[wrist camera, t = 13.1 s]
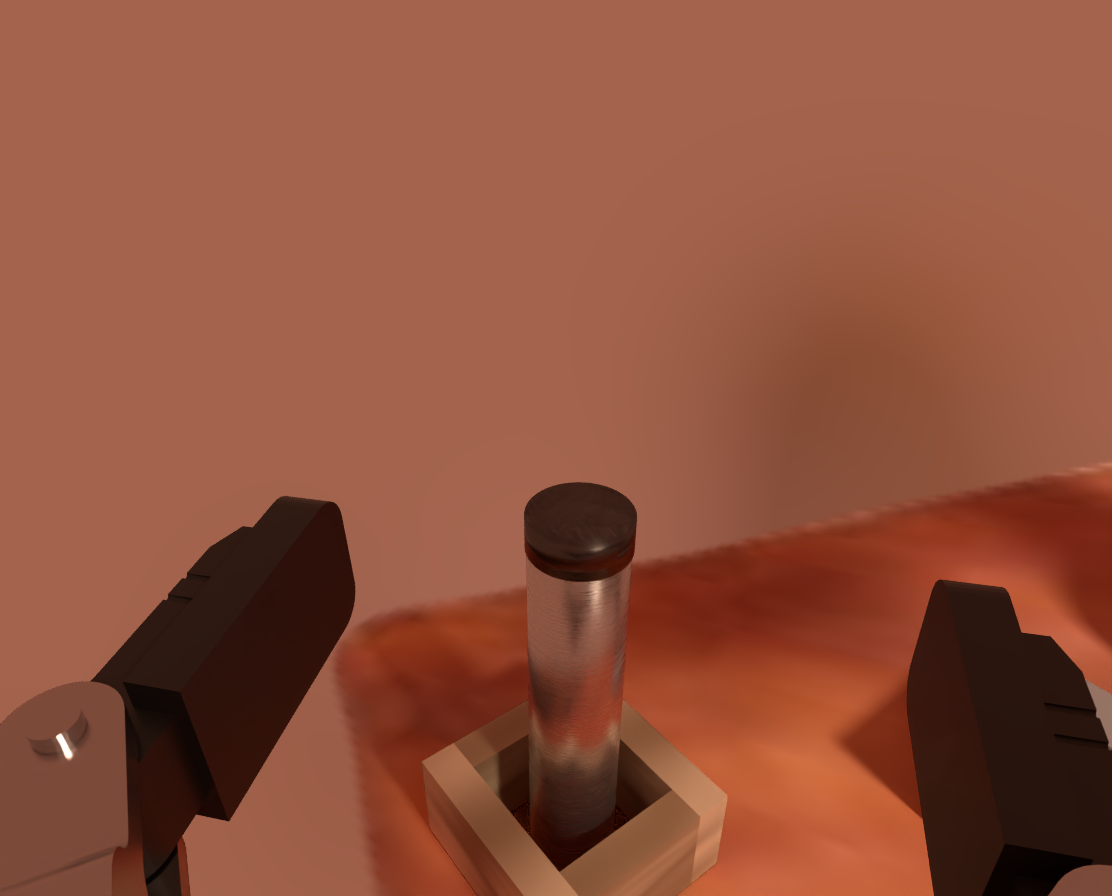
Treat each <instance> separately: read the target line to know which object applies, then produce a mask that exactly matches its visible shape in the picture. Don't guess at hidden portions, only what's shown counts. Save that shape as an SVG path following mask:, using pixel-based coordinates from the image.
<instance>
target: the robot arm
mask: <svg viewBox="0 0 1112 896" xmlns="http://www.w3.org/2000/svg"><path fill="white" fill-rule="evenodd" d="M354 601H355V582H354V576H353V571H352V565H351V560H350V555H349V551H348V545H347V540H346V535H345V530H344V525H343V520H342V515H341V511H340V509H339V507H338V506H337V504H335V503H334V502H330V501H320V500H313V499H305V498H297V497H289V496H283V497H280V498H279V499H277V500H276V501H275V502H274V503H273V504H272V505H271V507H270V508H269V509H268V510H267V511H266V513H265V514H264V515H263V516H262V517H261V519H260V520H259V521H258V522H257V523H256V524H255V526H254V527H253V528H252V527H244V526H243V527H241V528H240V529H238V530H237V531H235V532H233V533H232V534H230V535H228V536H227V537H225V538H224V539H222V540H220V541H219V542H217V543H216V544H214V545H212V546H211V547H210V548H209V549H208V550H207V551H206V552H205V553H204V554H203V555H202V557H201V558H200V559H199V560H198V561H197V562H196V563H195V564H194V566H193V567H192V568H191V569H190V570H189V571H188V572H187V577H186V579H184V578H183V579H181V580H180V581H179V583H178V584H177V585H176V586H175V587H174V588H173V589H172V591H171V592H170V593H169V594H168V599H167V600H163V601H162V602H161V603H160V604H159V605H158V606H157V607H156V609H155V610H154V611H153V612H152V613H151V614H150V615H149V616H148V617H147V619H146V620H145V621H144V622H143V623H142V624H141V625H140V626H139V628H138V629H137V630H136V631H135V632H134V633H133V634H132V635H131V637H130V638H129V639H128V640H127V641H126V642H125V643H124V645H123V646H122V647H121V648H120V649H119V650H118V651H117V652H116V654H115V655H114V656H113V657H112V658H111V659H110V660H109V661H108V663H107V664H106V665H105V666H104V667H103V668H102V669H101V670H100V672H99V673H98V674H97V675H96V676H95V677H94V678H93V679H92V680H91V681H90V682H76V683H70V684H66V685H62V686H58V687H55V688H53V689H50V690H47V691H45V692H43V693H41V694H39V695H37V696H35V697H33V698H32V699H30V700H28V701H27V702H25V703H24V704H22V705H21V706H20V707H18V708H17V709H16V710H14V711H13V712H12V713H11V714H10V715H9V716H8V717H7V718H6V719H5V720H4V721H3V722H2V723H1V724H0V896H190V886H189V875H188V864H187V854H186V847H185V842H184V840H183V838H182V835H183V834H184V832H185V830H186V829H187V827H188V826H189V824H190V823H191V821H192V820H193V818H194V817H195V815H202V816H206V817H211V818H216V819H220V820H225V821H230V819H231V817H232V816H233V814H234V812H235V811H236V809H237V807H238V806H239V804H240V802H241V801H242V799H243V797H244V796H245V794H246V793H247V791H248V789H249V787H250V786H251V784H252V783H253V781H254V779H255V777H256V776H257V774H258V772H259V771H260V769H261V768H262V766H263V764H264V763H265V761H266V759H267V757H268V756H269V754H270V753H271V751H272V749H273V748H274V746H275V744H276V743H277V741H278V739H279V738H280V736H281V734H282V733H283V731H284V729H285V728H286V726H287V725H288V723H289V721H290V720H291V718H292V716H293V715H294V713H295V711H296V709H297V708H298V706H299V705H300V703H301V701H302V700H303V698H304V696H305V695H306V693H307V691H308V689H309V688H310V686H311V685H312V683H313V681H314V679H315V678H316V676H317V675H318V673H319V671H320V670H321V668H322V667H323V665H324V663H325V662H326V660H327V658H328V657H329V655H330V653H331V652H332V650H333V648H334V647H335V645H336V643H337V642H338V640H339V638H340V637H341V635H342V633H343V632H344V630H345V628H346V626H347V624H348V622H349V620H350V617H351V614H352V611H353V607H354ZM1096 711H1097V709H1096V707H1095V704H1094V701H1093V699H1092V696H1091V694H1090V691H1089V688H1088V686H1087V683H1086V681H1085V678H1084V675H1083V673H1082V671H1081V670H1080V669H1079V668H1078V667H1077V666H1076V664H1075V663H1074V662H1073V661H1072V660H1071V659H1070V658H1069V657H1068V656H1067V654H1066V653H1065V652H1064V651H1063V650H1062V649H1061V648H1060V647H1059V645H1058V644H1057V643H1056V642H1055V641H1054V640H1053V639H1052V638H1051V637H1050V636H1043V635H1036V634H1028V633H1021V630H1020V627H1019V623H1018V620H1017V617H1016V614H1015V611H1014V608H1013V605H1012V601H1011V598H1010V596H1009V593H1008V592H1007V590H1006V589H1005V588H1003V587H996V586H988V585H980V584H972V583H964V582H956V581H948V580H938V581H937V582H936V583H935V585H934V587H933V589H932V593H931V596H930V599H929V603H928V606H927V610H926V613H925V617H924V620H923V623H922V627H921V630H920V634H919V637H918V641H917V644H916V648H915V651H914V655H913V658H912V662H911V665H910V670H909V676H908V684H907V715H908V722H909V729H910V736H911V743H912V749H913V756H914V763H915V770H916V776H917V783H918V790H919V797H920V804H921V810H922V817H923V824H924V831H925V838H926V844H927V851H928V858H929V865H930V871H931V878H932V885H933V892H934V896H1112V750H1109V748H1108V744H1109V741H1108V738H1107V736H1106V733H1105V730H1104V728H1103V725H1102V722H1101V720H1100V718H1097V717H1096Z"/></svg>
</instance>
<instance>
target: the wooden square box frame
mask: <svg viewBox="0 0 1112 896" xmlns="http://www.w3.org/2000/svg"><path fill="white" fill-rule="evenodd" d="M421 762H422V770H423V779H424V787H425V795H426V804H427V812H428V821H429V828H430V830H431V831H432V832H433V834H434V835H435V837H436V838H437V839H438V841H439V842H440V844H441V845H442V846H443V848H444V849H445V851H446V852H447V853H448V855H449V856H450V858H451V859H452V860H453V862H454V863H455V865H456V866H457V867H458V869H459V870H460V872H461V873H462V874H463V876H464V877H465V879H466V880H467V881H468V883H469V884H470V886H471V887H472V888H473V890H474V891H475V893H476V894H477V895H478V896H676V895H678V894H679V893H680V892H681V891H682V890H684V889H685V888H686V887H687V886H689V885H690V884H691V883H692V882H693V881H695V880H696V879H697V878H698V877H699V876H701V875H702V874H703V873H704V872H706V871H707V870H708V869H709V868H710V867H712V866H713V865H714V864H715V863H717V857H718V851H719V845H720V839H721V833H722V827H723V821H724V815H725V809H726V804H727V798H728V795H726V794H725V793H724V792H723V791H722V790H721V789H720V788H719V787H718V786H717V785H716V784H715V783H713V782H712V781H711V780H710V779H709V778H708V777H707V776H706V775H705V774H704V773H703V772H702V771H700V770H699V769H698V768H697V767H696V766H695V765H694V764H693V763H692V762H691V761H690V760H689V759H687V758H686V757H685V756H684V755H683V754H682V753H681V752H680V751H679V750H678V749H677V748H676V747H674V746H673V745H672V744H671V743H670V742H669V741H668V740H667V739H666V738H665V737H664V736H663V735H661V734H660V733H659V732H658V731H657V730H656V729H655V728H654V727H653V726H652V725H651V724H650V723H648V722H647V721H646V720H645V719H644V718H643V717H642V716H641V715H640V714H639V713H638V712H637V711H635V710H634V709H633V708H632V707H631V706H630V705H629V704H628V703H627V702H626V701H625V700H624V699H623V701H622V715H621V729H620V744H619V758H618V773H617V787H616V801H615V804H616V805H617V806H618V807H619V808H620V809H621V811H622V812H623V813H624V814H625V815H626V816H627V817H628V818H629V819H630V821H629V822H627V823H626V824H625V825H623V826H622V827H621V828H619V829H618V830H616V831H615V832H614V833H612V834H611V835H610V836H608V837H607V838H605V839H604V840H603V841H601V842H600V843H599V844H597V845H596V846H594V847H593V848H592V849H590V850H589V851H588V852H586V853H585V854H584V855H582V856H581V857H579V858H578V859H577V860H575V861H574V862H573V863H571V864H570V865H568V866H567V867H566V868H564V869H563V870H562V871H560V872H559V871H558V870H557V869H556V868H555V867H554V865H553V864H552V863H551V862H550V860H549V859H548V858H547V857H546V856H545V854H544V853H543V852H542V851H541V849H540V848H539V847H538V846H537V845H536V843H535V842H534V841H533V840H532V838H531V837H530V836H529V835H528V833H527V832H526V831H525V830H524V829H523V827H522V826H521V825H520V824H519V822H518V821H517V820H516V819H515V818H514V816H513V815H512V814H511V813H510V812H512V811H514V810H515V809H517V808H518V807H520V806H521V805H523V804H524V803H526V802H527V801H529V800H530V795H529V717H528V700H526V701H525V702H523V703H521V704H520V705H518V706H516V707H514V708H513V709H511V710H509V711H507V712H506V713H504V714H502V715H501V716H499V717H497V718H495V719H494V720H492V721H490V722H489V723H487V724H485V725H483V726H482V727H480V728H478V729H477V730H475V731H473V732H471V733H470V734H468V735H466V736H464V737H463V738H461V739H459V740H458V741H456V742H454V743H452V744H451V745H449V746H447V747H446V748H444V749H442V750H440V751H439V752H437V753H435V754H434V755H432V756H430V757H428V758H427V759H425V760H423V761H421Z"/></svg>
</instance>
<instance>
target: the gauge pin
mask: <svg viewBox="0 0 1112 896" xmlns="http://www.w3.org/2000/svg"><path fill="white" fill-rule="evenodd" d="M636 522H637V513H636V509H635V507H634V505H633V504H632V503H631V501H630V500H629V499H628V498H627V497H625V496H624V495H623V494H621V493H620V492H618V491H616V490H614V489H612V488H609V487H606V486H602V485H598V484H593V483H582V482H576V483H564V484H559V485H555V486H552V487H549V488H546V489H544V490H542V491H540V492H539V493H537V494H536V495H535V496H533V497H532V498H531V499H530V500H529V502H528V503H527V505H526V507H525V512H524V527H525V528H524V533H525V534H524V535H525V552H526V556H527V557H526V559H527V638H528V717H529V795H530V837H531V838H532V840H533V841H534V842H535V843H536V845H537V846H538V847H539V848H540V849H541V851H542V852H543V853H544V854H545V856H546V857H547V858H548V859H549V860H550V862H551V863H552V864H553V865H554V867H555V868H556V869H557V870H558V871H559V872H560V871H562V870H563V869H564V868H566V867H567V866H568V865H570V864H571V863H573V862H574V861H575V860H577V859H578V858H579V857H581V856H582V855H584V854H585V853H586V852H588V851H589V850H590V849H592V848H593V847H594V846H596V845H597V844H599V843H600V842H601V841H603V840H604V839H605V838H607V837H608V836H610V835H611V834H612V833H613V830H614V816H615V801H616V787H617V773H618V758H619V744H620V729H621V715H622V701H623V686H624V672H625V657H626V643H627V629H628V614H629V600H630V585H631V571H632V558H633V556H634V550H635V538H636V524H637V523H636Z"/></svg>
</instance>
